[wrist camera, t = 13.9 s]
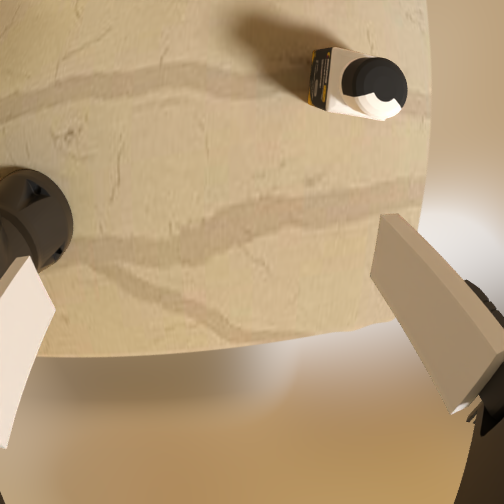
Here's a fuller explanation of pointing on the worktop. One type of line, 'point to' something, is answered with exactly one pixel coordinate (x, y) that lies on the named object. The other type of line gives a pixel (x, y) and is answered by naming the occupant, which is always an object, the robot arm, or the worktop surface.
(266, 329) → the worktop surface
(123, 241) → the worktop surface
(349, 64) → the medicine bottle
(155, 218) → the worktop surface
